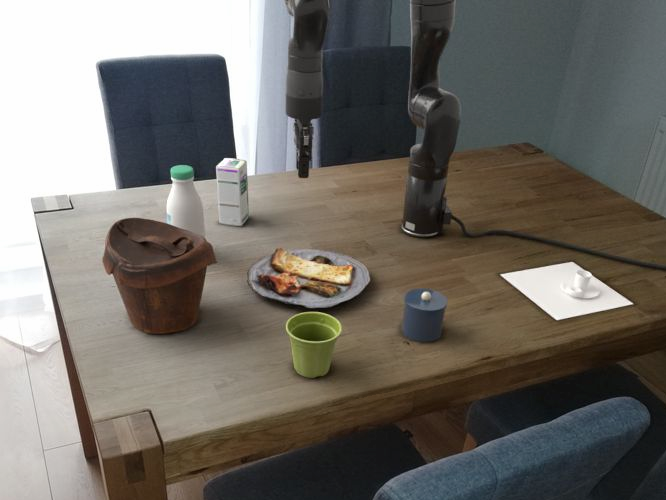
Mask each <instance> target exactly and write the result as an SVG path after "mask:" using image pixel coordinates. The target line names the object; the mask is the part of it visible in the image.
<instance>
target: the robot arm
mask: <svg viewBox="0 0 666 500" xmlns="http://www.w3.org/2000/svg"><path fill="white" fill-rule="evenodd" d="M456 3H457V0H409V12H410V14H409V16H410V17H409V20H410V72H409V73H410V74H409V75H410V76H409V86H408V97H407V98H408V99H407V112H408V116H409V118H410V121H411V122H412V124H414V125H415V126H416V127H418V128H420V129H422V130H423V137H422V141H421V143H417V144H414V145H412V147H410V150H409V157H408V167H407V168H408V169H407V176H406V185H405V194H404V202H403V203H404V204H403V213H402V219H401V228H400V229H401V230H402V232H403V233H404V234H406V235H408V236H412V237H416V238H433V237H436V236H441V235H443V228H444V226H446V225H447V226H450V225H451V221H452V220H453V221H455V222H456V223H457V224H458V225H459V226H460V228H461V231H462V233H463V235H464V236H466V237H468V238H477V237H483V236H487V235H492V234H493V235H494V234H499V235H500V234H502V235H508V236H515V237H519V238H523V239H528V240H533V241H538V242H542V243H547V244H550V245H551V244H552V245H556V246H559V247H562V248H563V247H564V248H568V249H570V250H571V249H572V250H576V251H579V252H583V253H588V254H591V255H595V256H600V257H604V258H607V259H611V260H617V261H621V262H625V263H629V264H633V265H639V266H642V267H643V266H644V267H647V268H648V267H649V268H652V269H653V268H654V269H659V270H665V271H666V265H663V264H657V263H652V262H646V261H641V260H638V259H633V258H629V257H624V256H619V255H614V254H611V253H606V252H603V251H599V250H594V249H590V248H586V247H582V246H578V245H574V244H571V243H567V242H564V241H563V242H562V241H558V240H554V239H551V238H545V237H540V236H536V235H532V234H531V235H530V234H526V233H521V232H517V231H512V230H507V229H506V230H505V229H490V230H486V231H483V232H479V233H471V232H469V231H467V229H466V226H465V224H464V222H463V221H462V220H461V219H460V218H458V217H456V216H455V215H453V212H452V210H451V208H450V207H449V206H448V204H447V201H448V197H447V196H446V190H447V189H446V187H447V181H448V173H449V167H450V160H451V157H452V155H453V153H454V151H455V149H456V145H457V139H458V134H459V130H460V126H461V125H460V124H461V119H462V106H461V102H460V99H459V98H458V96H457V95H455V94H453V93H451V92H449V91H447V90H445V89H442V88H441V80H440V79H441V77H440V75H441V74H440V73H441V59H442V58H443V57H442V56H443V54H444V51H445V49H446V47H447V46H448V45H447V44H448V43H449V41H450V38H451V36H452V34H453V31H454V27H455V24H456V9H457V8H456V6H457V4H456ZM283 4H284V8H285V10H286V11H287V13H288V14H289V15H290V16H291V17H292V18H293V31H292V36H291V37H290V38H289V40H288V43H287V51H286V52H287V57H286V58H287V59H286V61H287V62H286V63H287V67H286V76H285V114H286V116H287V117H289V118H291V119H294V122H293V124H292V127H293V141H294V142H293V143H294V145H295V148H294V149H295V152H296V154H295V155H296V158H295V159H296V160H295V162H296V163H295V167H296V170H297V176H298V178H299V179H308V178H309V177H310V162H312V150H313V141H314V137H313V136H314V134H315V130H314V129H315V128H314V126H313V122H311V121H313V120H317V119H320V118H321V117H322V115H323V101H324V100H323V98H324V75H323V71H324V69H323V65H324V64H323V63H324V45H325V44H324V43H325V40H326V37H327V36H326V35H327V31H328V27H329V21H330V11H331V9H330V0H283Z"/></svg>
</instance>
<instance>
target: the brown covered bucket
mask: <svg viewBox="0 0 666 500" xmlns="http://www.w3.org/2000/svg"><path fill="white" fill-rule="evenodd" d="M104 242H105V243H104V244H105V245H104V251H103V254H102V255H103V256H102V260H101V262H102V265H103V267H104V270H105V272H106V274H107V275H108V276H110V275H112V276H113V280H114V281H115V284H116V287H117V290H118V292H119V295H120V298H121V300H122V302H123V305H124V308H125V311H126V313H127V316H128V319H129V322H130V323H131V324H132V325H133V326H134V327H135V328H136V329H138V330H140V331H142V332H143V333H146V334H151V335H152V334H155V335H157V334H158V335H163V334H165V335H166V334H172V333H177V332H182V331H184V330H186V329H189V328H190V327H193V326H194V325H195V324H196V323H197V320H198V318H199V315H200V307H201V301H202V296H203V292H204V287H205V282H206V281H205V280H206V276H207V270H208V267H209V266H211V265H216V264H218V260H217V257H216V254H215V251H214V247H213V245H212V243H211V242H209V241H208V240H207V239H206V237H205V238H204V237H203V236H201V235H199V234H196V233H193V232H190V231H188V230H184V229H181V228H178V227H176V226H173V225H170V224H167V222H163V221H160V220H154V219H150V218H142V217H126V218H122V219H119V220H117V221H115V222H114V223H113V224H112V225H111V227H110V228H109V230H108V232H107V234H106V236H105V241H104Z"/></svg>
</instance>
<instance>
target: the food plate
mask: <svg viewBox="0 0 666 500" xmlns="http://www.w3.org/2000/svg"><path fill="white" fill-rule="evenodd" d="M246 274H247V275H246V276H247V277H246V278H247V280H246V283H247V284H248V286H249V289H252V291H255V292H256V294H257V295H258V296H261V297H265V299H266V298H269V299H272V300H275V301H278V302H281V303H284V304H285V305H294V306H295V305H296V306H302V307H305V308H307V309H319V308H331V307H333V306H336V305H339V304H340V303H343V302H346V301H349V300H351V299H353V298H354V297H357V296H358V295H359V294H361V293H362V291H364V290H365V288H367V285H368V284H369V282H370V281H371V276H370V272H369V270H368V268H367V267H366V266H365V264H363V263H362V262H360V261H358V260H357V259H354V258H352V257H351V256H349V255H347V254H344V253H341V252H336V251H331V250H330V251H329V250H323V249H314V248H294V249H290V250H289V249H286V250H284V249H283V248H275V251H274V252H273V253H272V254H267V255H264V256H263V257H262V258H260V259H258V260H257V261H255V262H254V263H252V264H251V266H249V268H248V269H247V272H246Z"/></svg>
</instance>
